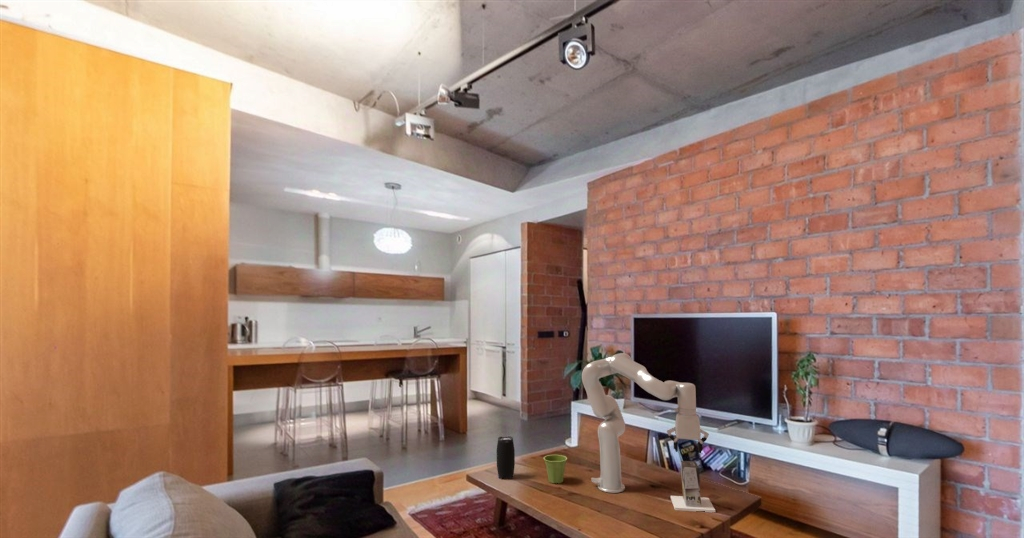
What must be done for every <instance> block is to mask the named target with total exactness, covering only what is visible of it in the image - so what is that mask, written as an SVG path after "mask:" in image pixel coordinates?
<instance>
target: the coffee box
mask: <svg viewBox="0 0 1024 538" xmlns="http://www.w3.org/2000/svg"><path fill="white" fill-rule="evenodd" d="M680 473H681V488H682V492H681V493H682V496H683V500H684V502H685V505H686V506H694V507H701V482H700V481H701V479H700V476H701V475H700V467H699V465H698V463H697V461H695V460H694V461H693V460H680Z"/></svg>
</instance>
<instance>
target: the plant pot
mask: <svg viewBox="0 0 1024 538" xmlns="http://www.w3.org/2000/svg"><path fill="white" fill-rule="evenodd" d="M543 460H544V463H545V467H546V473H547V478H548V482H549V483H550V484H557V483H558V484H562V483H563V482H564V478H565V477H564V476H565V467H566V462H567V460H568V457H567V456H566V455H562V454H548V455H545V456H543Z"/></svg>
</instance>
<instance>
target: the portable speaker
mask: <svg viewBox="0 0 1024 538" xmlns="http://www.w3.org/2000/svg"><path fill="white" fill-rule="evenodd" d="M515 453H516V452H515V445H514V437H513V436H510V435H509V436H498V437H497V445H496V469H497V475H498V479H500V480H502V479H503V478H505V479H508V480H512V479H513V478H514V474H515V466H516V465H515V464H516V459H515V458H516V457H515Z"/></svg>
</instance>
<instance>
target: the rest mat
mask: <svg viewBox="0 0 1024 538" xmlns="http://www.w3.org/2000/svg"><path fill="white" fill-rule="evenodd" d="M670 500H671V502H672V505H673V508H674V509H673V510H675V511H683V512H696V511H705V512H704V513H712V512H715V513H716V509H715V507H714V505H713V504H712V502H711V500H710V498H709V497H704V496H703V497H701V507H694V506H686V505H685V502H684V500H683V495H670Z"/></svg>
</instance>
